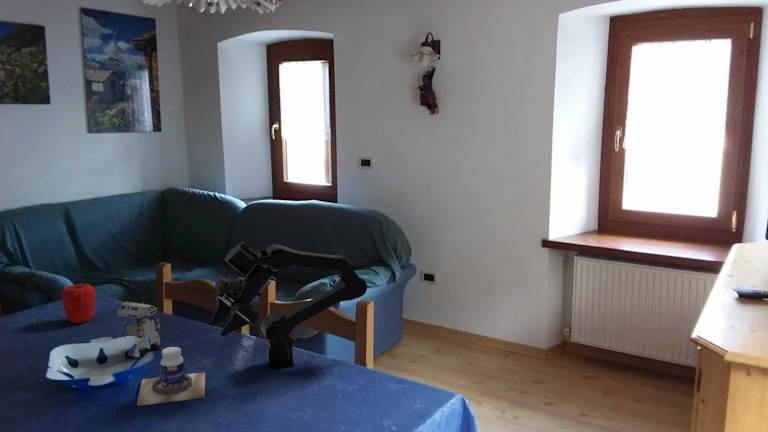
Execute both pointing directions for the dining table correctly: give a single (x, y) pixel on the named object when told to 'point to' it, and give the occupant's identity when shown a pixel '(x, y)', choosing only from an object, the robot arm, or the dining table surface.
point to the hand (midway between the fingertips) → (216, 329)
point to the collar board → (171, 390)
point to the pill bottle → (172, 368)
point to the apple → (78, 302)
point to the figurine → (141, 322)
